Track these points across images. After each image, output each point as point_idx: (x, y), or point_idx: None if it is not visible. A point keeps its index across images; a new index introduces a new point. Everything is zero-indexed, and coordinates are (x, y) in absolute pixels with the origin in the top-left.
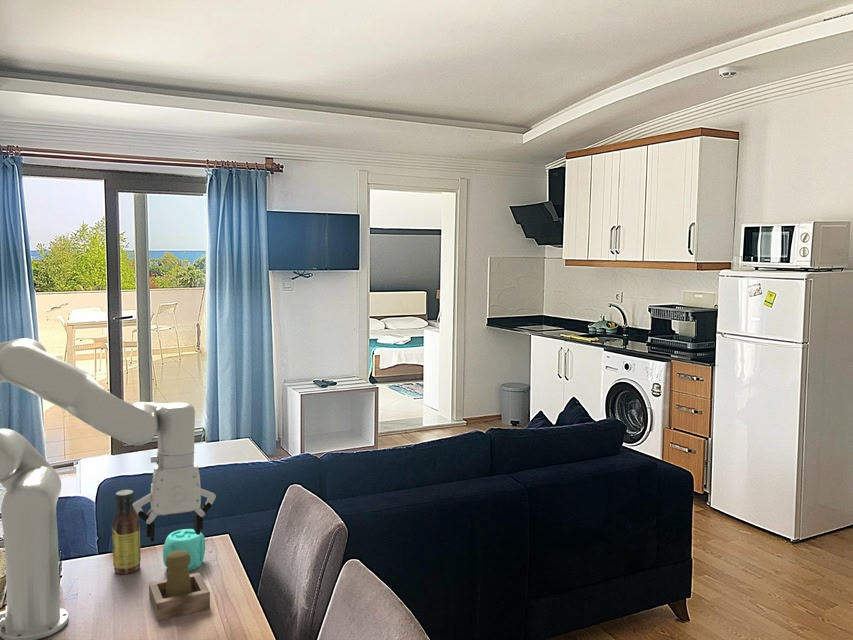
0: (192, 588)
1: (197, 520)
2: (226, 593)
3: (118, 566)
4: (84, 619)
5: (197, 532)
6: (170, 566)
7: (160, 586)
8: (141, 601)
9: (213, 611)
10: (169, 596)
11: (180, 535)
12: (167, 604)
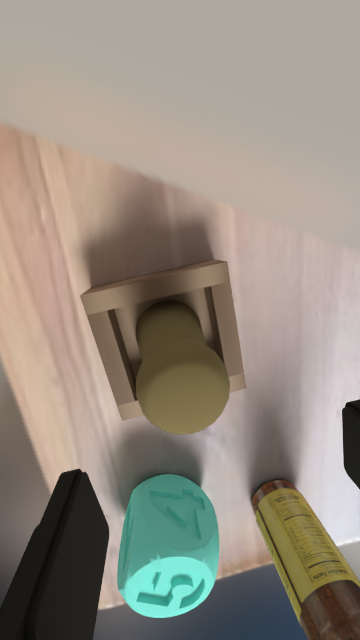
0: None
1: (38, 597)
2: (56, 358)
3: (298, 494)
4: (353, 309)
5: (75, 481)
6: (208, 347)
7: None
8: (247, 361)
9: (81, 270)
10: (193, 316)
11: (180, 584)
12: (196, 267)
